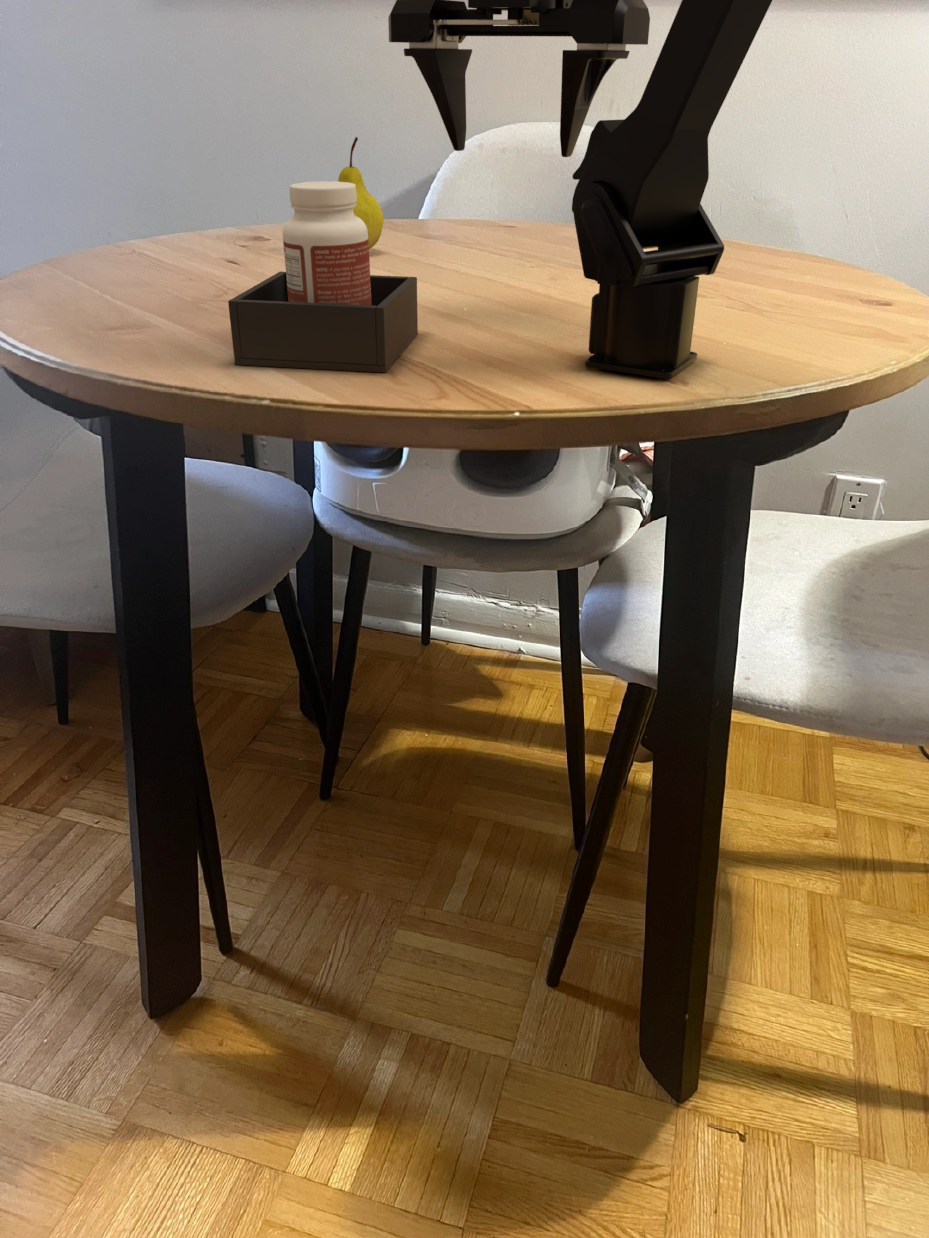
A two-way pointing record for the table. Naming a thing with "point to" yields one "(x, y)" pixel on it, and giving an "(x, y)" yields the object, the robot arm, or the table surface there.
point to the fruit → (364, 202)
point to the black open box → (324, 327)
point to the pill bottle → (326, 246)
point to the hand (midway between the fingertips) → (511, 153)
